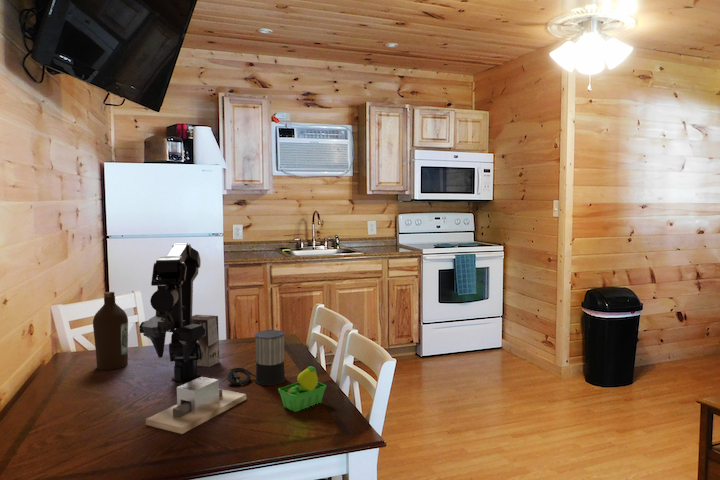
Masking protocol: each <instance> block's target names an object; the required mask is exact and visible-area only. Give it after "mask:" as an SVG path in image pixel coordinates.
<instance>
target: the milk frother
mask: <svg viewBox="0 0 720 480" xmlns="http://www.w3.org/2000/svg"><path fill="white" fill-rule="evenodd" d="M285 334H286V332H285V331H282V330H278V329H267V330H264V329H263V330H261V331H260V330H259V331H258V332H255V333H254V337H255V366H256V367H255V374H254V373H252V372H251V371H249V370H248V369H246V368H243V367H235V368H232V369H230V370H229V372H228V373H227V375H226V377H227V378H226V379H227V381H228V382H229V383H231V384H233V385H236V386H237V385H239V386H241V385H246V384H248V383H249V382H250V381H251V378H252V376H253V377H254V378H255V383H256V384H258V385H262V386H276V385H279V384H282V383H284V382H285V381H286V376H285V375H286V372H285V371H286V370H285ZM237 373H241V374H244V375H245V376H246V378H245V379H244V380H243V379H242V380H240V378H241V376H240V375H238V374H237Z"/></svg>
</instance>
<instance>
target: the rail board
mask: <svg viewBox="0 0 720 480" xmlns="http://www.w3.org/2000/svg"><path fill="white" fill-rule="evenodd" d="M246 400H247V394H246V393H242V392H237V391H233V390H227V389H223V388H220V387H219V402H218V403H216V404H214V405H212V406H210V407H208V408H206V409H204V410H202V411H200V412H198V413H196V414H193V413H192V412H191V402H190V401H188V402H186V403H184V404H182V405H179V406H177V404H174V405H172V406H170V407H169V408H167V409H164V410H162V411H160V412H158V413H155V414H153V415H151V416H149V417H146V418H145V426H149V427H152V428H157V429H161V430H164V431H169V432H173V433H177V434H181V435H183V434H185V433H187V432H188V431H190V430H193V429H194V428H196V427H198V426H200V425H202V424H203V423H205V422H207V421H209V420H211V419H213V418H214V417H216V416H218V415H220V414H222V413H224V412H226V411H227V410H230V409H231V408H233V407H235V406H237V405H238V404H240V403H242V402H244V401H246Z"/></svg>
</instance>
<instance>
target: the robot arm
mask: <svg viewBox="0 0 720 480" xmlns="http://www.w3.org/2000/svg"><path fill="white" fill-rule="evenodd" d="M191 245H192V244H190V243H188V242H179V243H178V242H176V243H173V244H172V245H171V249H170V251H169V253H167V255H166V256H159V257H158V258H157V259H156V261H155V262H153V266H152V274H151V275H152V276H151V283H150V285H151V286H152V287H153V286H154V287H155V286H157V290H156V291H154V293H152V295H151V296H150V306H151V308H152V309H153V310H154V311H155V315H154V316H153V317H151V318H149V319H148V320H145V321H141V323H140V325H139V326H138V327H139V333H140V334H142V335H143V337H146V338H148V339H149V340H150V341H151V343H152V345H153V347H154V350H155V352H156V354H157V357H158V358H159V359H161V358H162V357H163V356H164V353H165V352H164V351H165V343H166V336H167V335H166V334H167V332H168V333H172V334H171V337H170V338H171V339H170V341H169V344H168V352H169V359H170V362H171V363H173V362H174V366H173V376H174V377H171V378H170V379H171V381H177V382H182V383H188V382H190V381H193V380H195V379H197V378H200V377H202V374H199V373H198V366H197V360H199V359H201V358H202V350H201V345H200V344H199V341H197V340H198V339H199V338H201V337H202V336H203V335H205V327H204V326H203V325H198V324H192V316H193V304H194V303H193V298H194V297H193V296H194V295H193V293H194V281H195V279H196V278H197V277H198V275H199V270H200V269H199V268H201V263H202V262H201V256H200V252H199V251H198V250H196V249H195V248H193V247H192V246H191ZM195 353H196V354H195Z"/></svg>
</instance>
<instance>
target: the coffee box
mask: <svg viewBox="0 0 720 480" xmlns="http://www.w3.org/2000/svg"><path fill="white" fill-rule="evenodd" d="M192 324H198V325H203V326H204V327H205V335H203V336H202V337H201V338H199V339H198V340H197V341H199V344H200V345H201V350H202V358H201V359H199V360H197V367H206V368H207V367H208V368H211V367H212V366H214V365H216V364H218V363H220V340H219V339H220V338H219V334H220V333H219V316H218V315H211V314H194V315H192ZM195 354H196V353H195Z"/></svg>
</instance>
